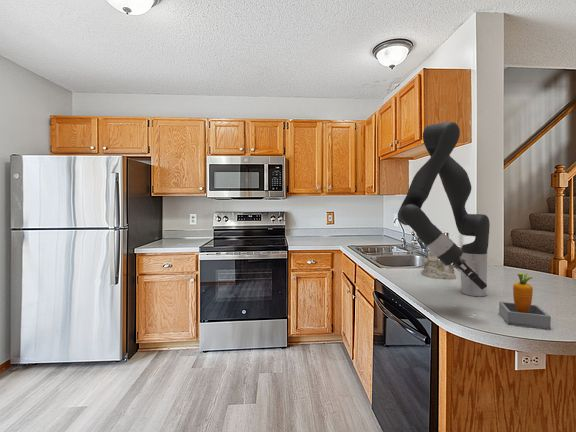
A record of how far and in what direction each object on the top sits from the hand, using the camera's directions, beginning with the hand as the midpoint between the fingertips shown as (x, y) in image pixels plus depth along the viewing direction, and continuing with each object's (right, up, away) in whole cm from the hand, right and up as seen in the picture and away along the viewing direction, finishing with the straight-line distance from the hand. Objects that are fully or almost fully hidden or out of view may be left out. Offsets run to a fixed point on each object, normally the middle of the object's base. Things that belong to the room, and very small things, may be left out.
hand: (481, 284), depth 102 cm
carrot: (+11, -10, -4) cm, 15 cm away
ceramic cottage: (+14, -8, +56) cm, 58 cm away
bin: (+11, -11, -4) cm, 16 cm away
